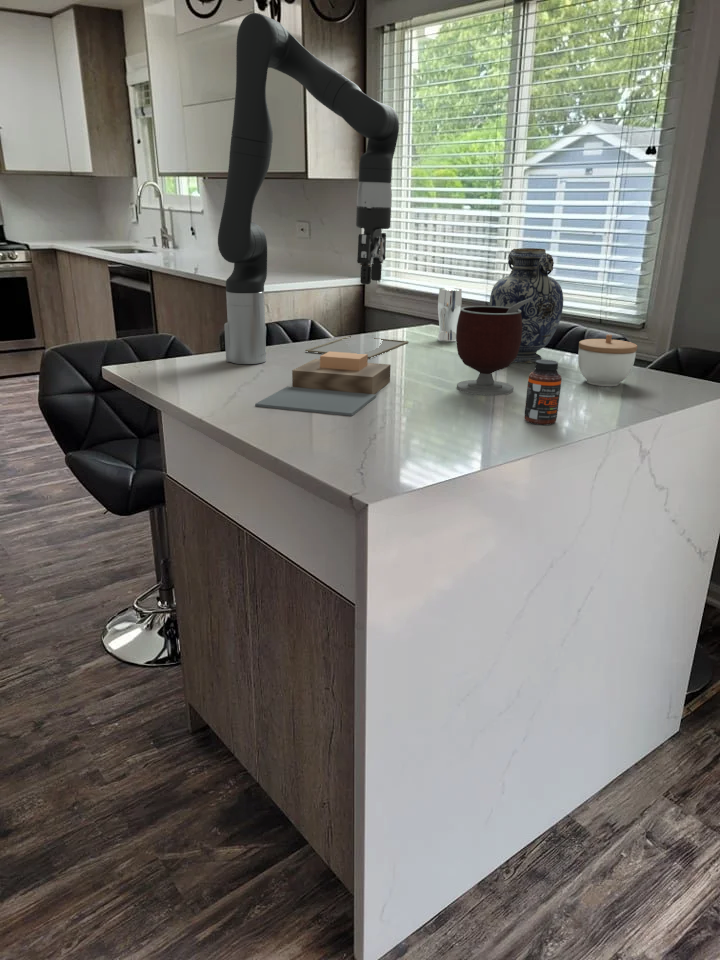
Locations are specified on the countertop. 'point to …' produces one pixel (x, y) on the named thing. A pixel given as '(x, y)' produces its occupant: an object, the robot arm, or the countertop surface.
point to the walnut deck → (342, 378)
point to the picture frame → (343, 347)
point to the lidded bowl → (606, 360)
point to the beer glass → (448, 313)
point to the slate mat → (317, 400)
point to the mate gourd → (488, 344)
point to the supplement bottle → (543, 393)
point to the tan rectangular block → (343, 360)
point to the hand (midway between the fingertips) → (370, 282)
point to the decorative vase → (536, 284)
